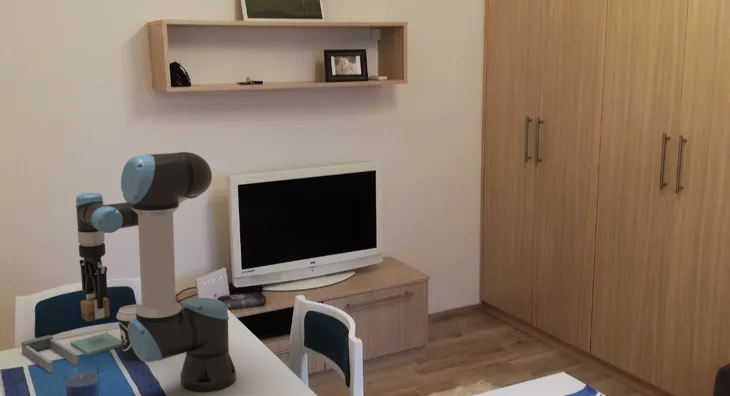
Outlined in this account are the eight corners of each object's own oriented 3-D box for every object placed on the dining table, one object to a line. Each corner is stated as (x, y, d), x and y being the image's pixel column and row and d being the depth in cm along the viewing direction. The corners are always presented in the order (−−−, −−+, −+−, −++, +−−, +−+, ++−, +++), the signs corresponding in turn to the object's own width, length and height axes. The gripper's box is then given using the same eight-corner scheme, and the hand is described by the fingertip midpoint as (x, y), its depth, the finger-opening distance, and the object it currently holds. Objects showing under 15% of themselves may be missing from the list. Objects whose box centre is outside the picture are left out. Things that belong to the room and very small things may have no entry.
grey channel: (78, 364, 207) (77, 352, 206) (49, 372, 201) (48, 361, 200) (50, 345, 221) (49, 334, 220) (22, 353, 215) (21, 342, 214)
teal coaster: (125, 345, 222) (124, 342, 222) (88, 355, 213) (87, 352, 213) (107, 335, 230) (106, 332, 230) (70, 345, 221) (70, 342, 221)
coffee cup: (141, 363, 208) (139, 315, 205) (112, 360, 210) (109, 312, 207) (157, 351, 217) (155, 304, 215) (128, 348, 219) (126, 302, 216)
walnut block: (88, 321, 216) (86, 304, 215) (81, 318, 219) (80, 301, 218) (109, 315, 221) (108, 299, 220) (103, 312, 224) (102, 295, 223)
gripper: (117, 246, 212) (120, 320, 217) (90, 236, 224) (94, 306, 229) (93, 250, 207) (97, 326, 211) (67, 240, 219) (71, 311, 223)
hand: (95, 315), depth 220 cm, fingers closed on walnut block, 4 cm apart
